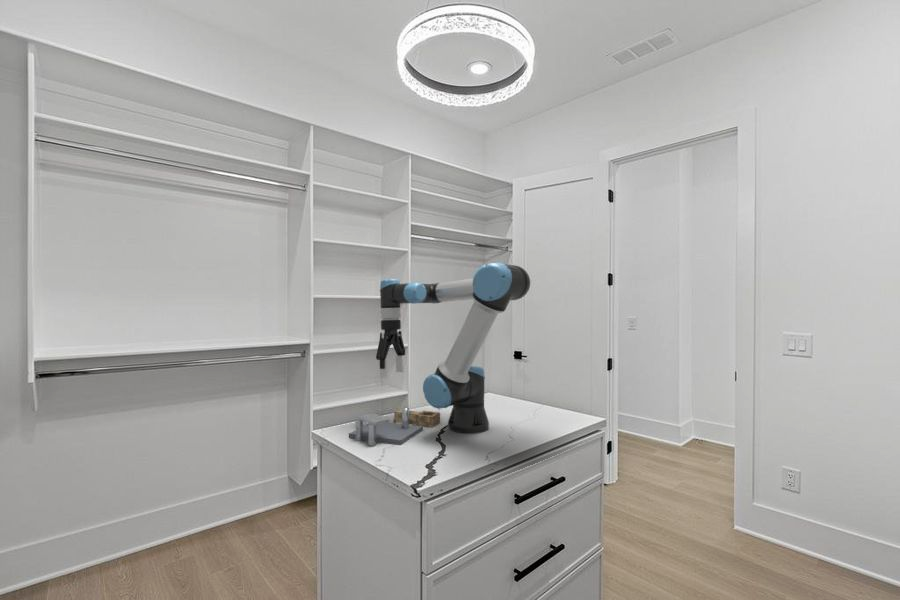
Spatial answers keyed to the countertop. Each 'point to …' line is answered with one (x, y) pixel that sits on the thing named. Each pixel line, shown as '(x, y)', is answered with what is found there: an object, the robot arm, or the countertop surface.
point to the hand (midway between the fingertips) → (391, 374)
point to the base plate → (390, 433)
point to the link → (419, 418)
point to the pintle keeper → (377, 420)
